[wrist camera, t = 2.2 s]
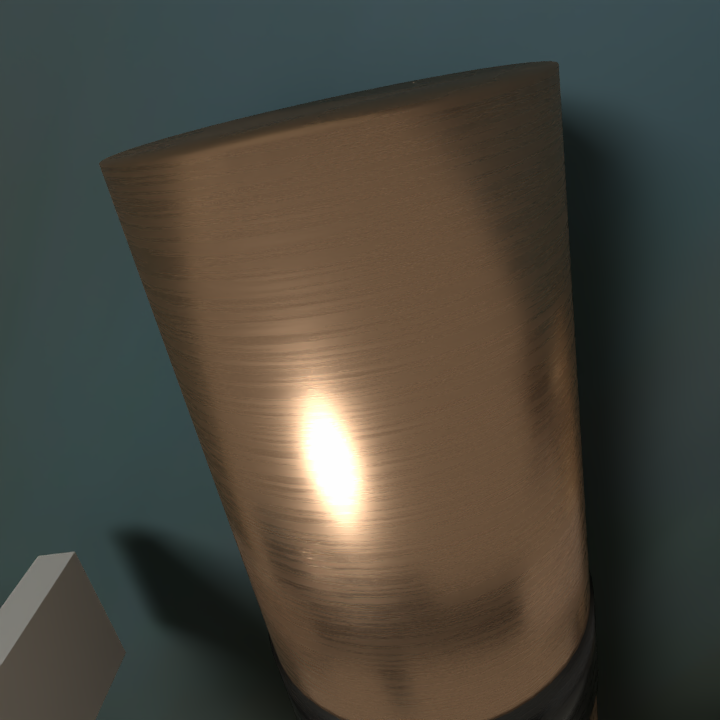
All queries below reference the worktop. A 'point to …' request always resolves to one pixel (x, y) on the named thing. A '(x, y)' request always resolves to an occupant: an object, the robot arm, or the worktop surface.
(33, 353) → the worktop surface
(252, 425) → the tube
